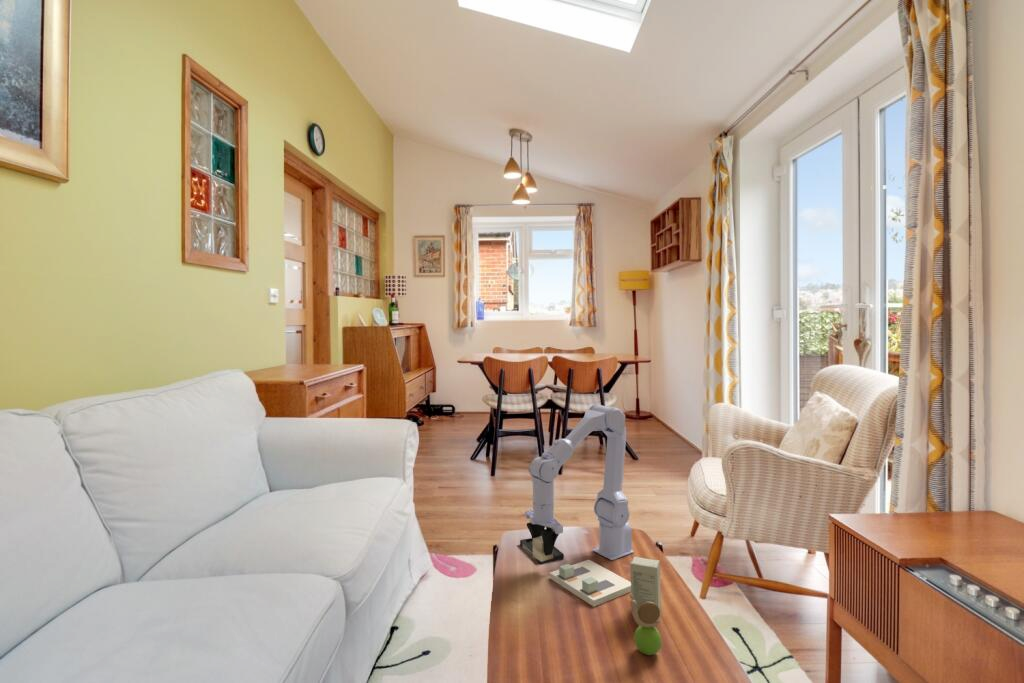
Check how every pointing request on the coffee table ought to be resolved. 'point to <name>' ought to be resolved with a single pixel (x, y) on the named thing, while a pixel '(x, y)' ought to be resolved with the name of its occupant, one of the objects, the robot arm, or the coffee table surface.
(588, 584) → the tab
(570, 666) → the coffee table surface
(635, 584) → the skincare box
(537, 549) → the block
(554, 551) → the vhs tape
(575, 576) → the white base plate
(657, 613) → the snail figurine
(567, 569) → the tab
